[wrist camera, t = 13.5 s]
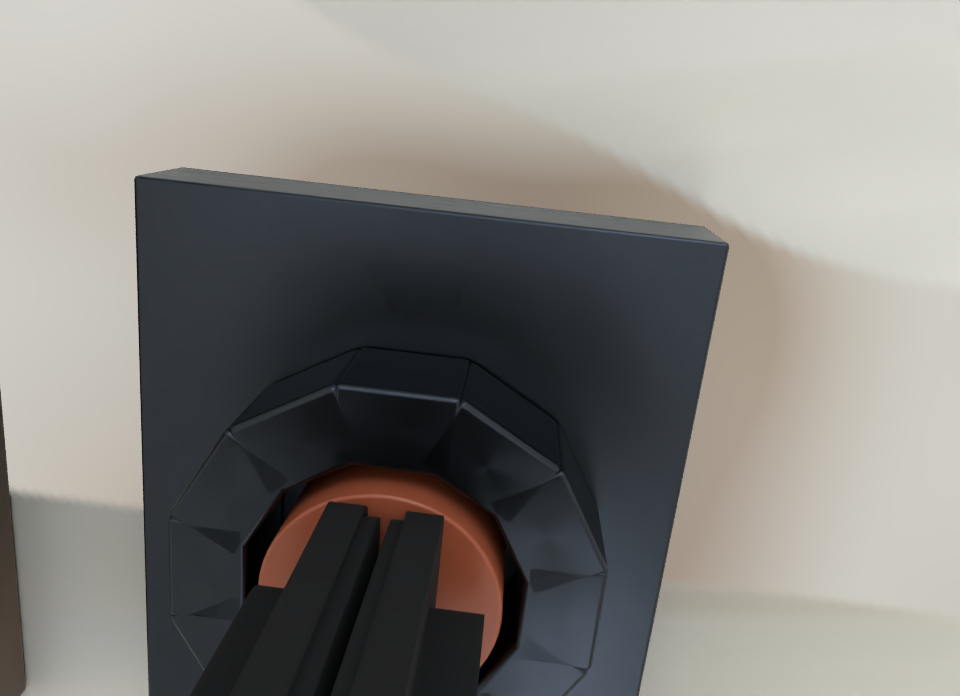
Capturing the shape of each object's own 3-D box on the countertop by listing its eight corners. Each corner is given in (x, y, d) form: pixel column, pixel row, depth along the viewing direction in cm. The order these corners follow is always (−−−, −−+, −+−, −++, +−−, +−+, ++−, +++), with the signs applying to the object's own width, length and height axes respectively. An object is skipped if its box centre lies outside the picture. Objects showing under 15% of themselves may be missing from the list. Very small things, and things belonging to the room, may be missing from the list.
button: (493, 646, 14) (487, 722, 12) (288, 619, 14) (254, 691, 12) (519, 457, 12) (517, 512, 11) (295, 429, 13) (259, 479, 11)
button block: (606, 747, 17) (624, 909, 13) (186, 691, 17) (100, 836, 13) (706, 226, 13) (765, 268, 10) (180, 166, 13) (65, 187, 10)
